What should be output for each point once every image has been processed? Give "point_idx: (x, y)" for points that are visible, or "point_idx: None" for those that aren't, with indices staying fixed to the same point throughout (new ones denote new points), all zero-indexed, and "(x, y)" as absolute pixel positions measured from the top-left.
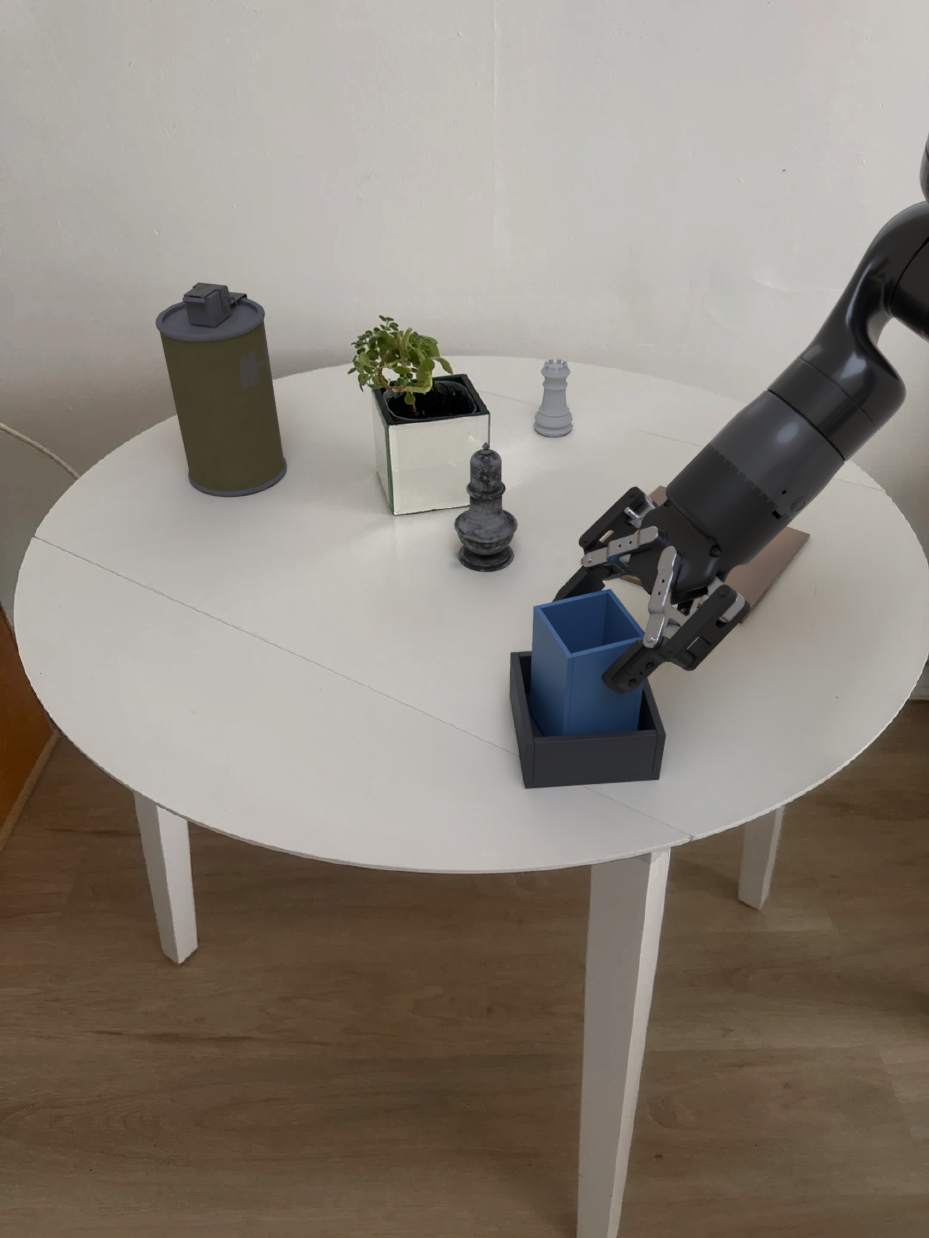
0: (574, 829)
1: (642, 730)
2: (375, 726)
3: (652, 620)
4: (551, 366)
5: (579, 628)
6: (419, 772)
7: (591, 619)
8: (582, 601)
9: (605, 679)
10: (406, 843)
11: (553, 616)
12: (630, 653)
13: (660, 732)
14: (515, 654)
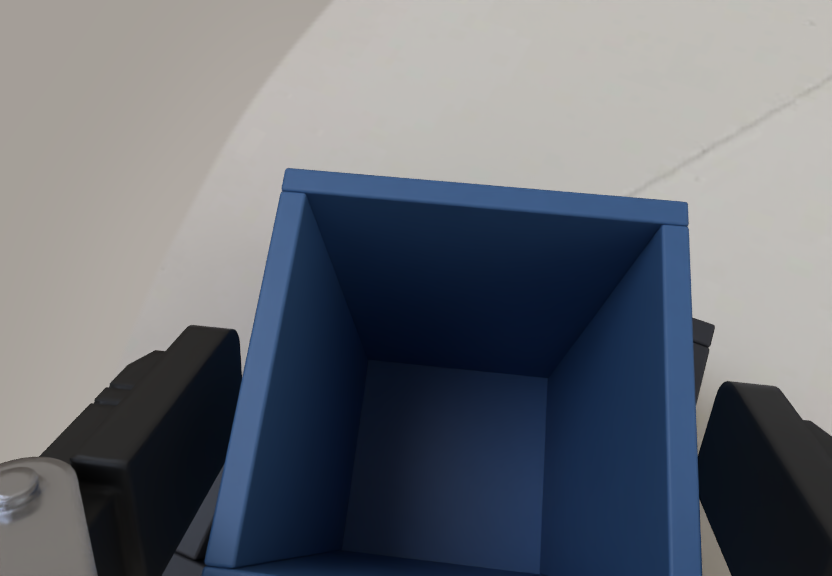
0: (211, 305)
1: (213, 516)
2: (660, 78)
3: (56, 571)
4: None
5: (610, 465)
6: (499, 106)
7: (620, 523)
8: (658, 453)
9: (200, 326)
10: (348, 33)
11: (639, 311)
12: (130, 413)
13: (174, 565)
14: (697, 332)
